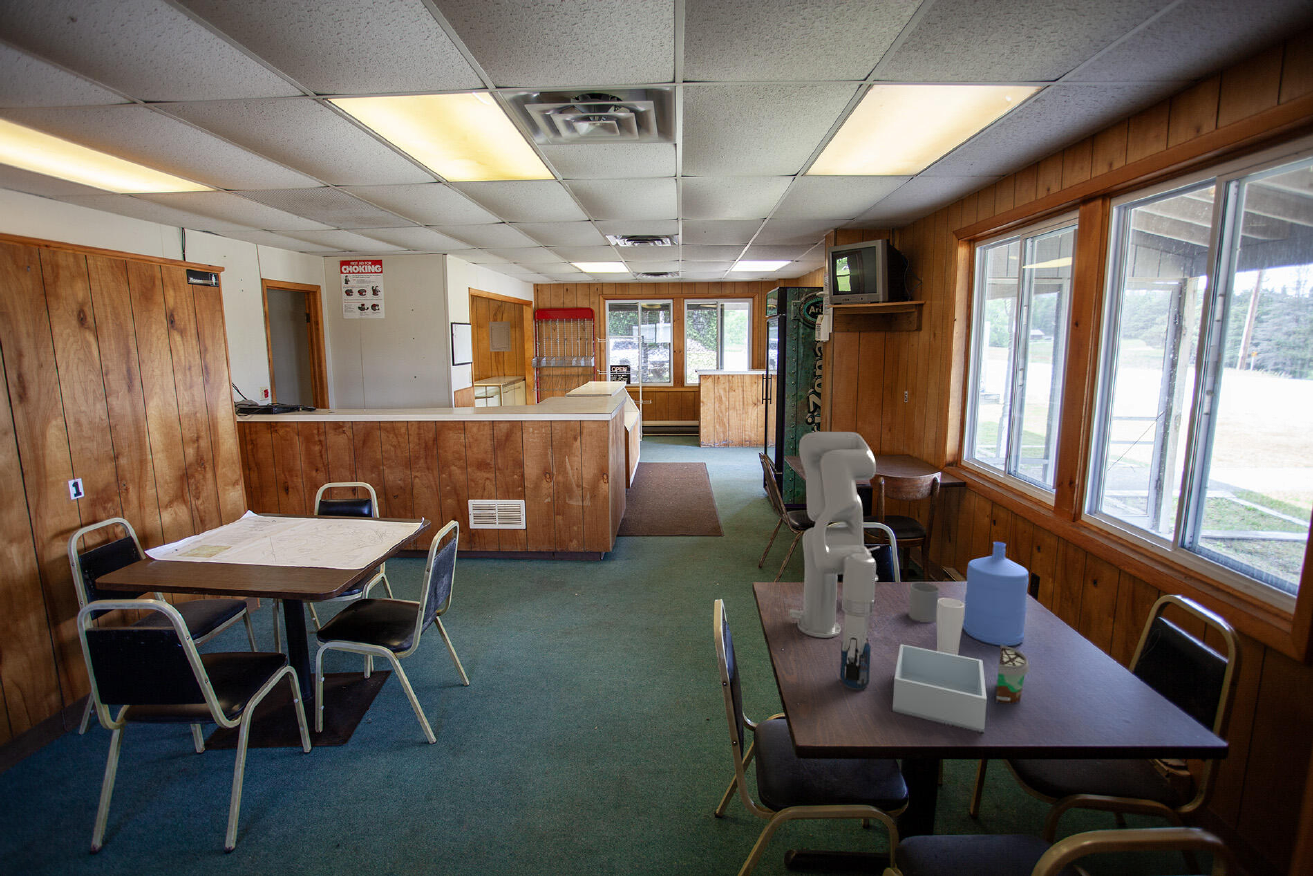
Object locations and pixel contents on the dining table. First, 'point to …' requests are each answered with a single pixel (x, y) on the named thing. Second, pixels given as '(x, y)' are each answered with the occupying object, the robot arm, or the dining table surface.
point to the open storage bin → (940, 687)
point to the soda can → (864, 668)
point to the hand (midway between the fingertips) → (854, 671)
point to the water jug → (996, 599)
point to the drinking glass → (949, 625)
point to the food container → (1011, 675)
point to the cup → (923, 601)
